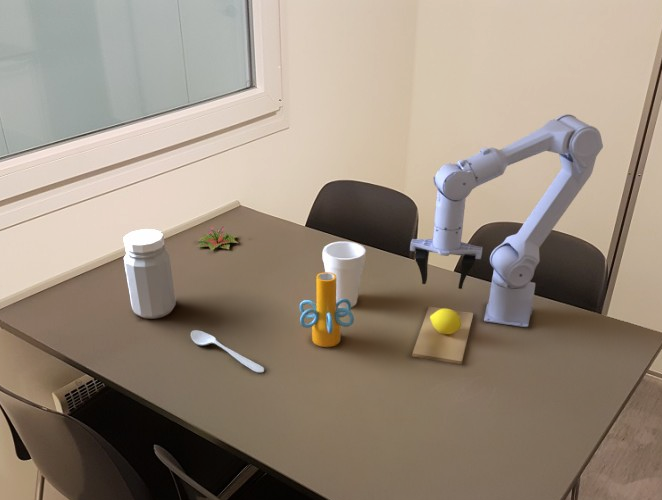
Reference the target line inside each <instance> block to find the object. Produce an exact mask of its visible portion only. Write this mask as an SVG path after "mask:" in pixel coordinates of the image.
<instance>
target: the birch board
mask: <svg viewBox="0 0 662 500" xmlns="http://www.w3.org/2000/svg"><path fill="white" fill-rule="evenodd" d="M440 309H442V307H441V308H440V307H436V306H435V307H434V306H428V308H427V311H426V314H425V316H424V319H423V322H422V325H421V328H420V329H419V333H418V336H417V339H416V342H415V345H414V347H413V350H412V353H411V354H412V355H411V356H412V357H413V358H418V359H426V360H430V361H431V360H432V361H438V362H443V363H450V364H456V365H463V360H464V356H465V352H466V347H467V344H468V339H469V334H470V331H471V327H472V324H473V323H472V322H473V318H474V312H469V311H461V310H455V309H452V310H453V311H455V312H457V314H458V315H459V316H460V320H461V327H460V328H459V329H458V330H457V331H456V332H455V333H452V334H443V333H439V332H438V331H437V330H436V329H435V328H434V326H433V324H432V322H431V319H430V316H431V315H432V314H434V313H435V312H436V311H437V310H440Z"/></svg>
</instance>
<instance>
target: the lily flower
mask: <svg viewBox="0 0 662 500" xmlns="http://www.w3.org/2000/svg"><path fill="white" fill-rule="evenodd" d="M213 229H214V230H213ZM224 230H225V228H224V226H222V227H221V229H220V230H219V229H217V232H216V230H215V227H214V226H213V225H212V227H210V231H208V233H206V235H205V236H203V237H201V238H200V239H197V240H196V241H197V242H198V241H201V242H200V243H199V244H198V245H197V246H196V248H203V247H208V248H209V249H210V251H211V252H212V251H213V250H214V249H217V248H220V249H221V248H222V249H225V250H226V249H227V250H230V247H231V245H230V243H233V244H234V243H235V244H239V242H238V241H237V240H236V238H237V237H238V235H232V234H231V235H229V234H228V235H227V234H226V233H224ZM211 232H212V233H211Z"/></svg>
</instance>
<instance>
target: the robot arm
mask: <svg viewBox="0 0 662 500" xmlns="http://www.w3.org/2000/svg"><path fill="white" fill-rule="evenodd" d="M603 144H604V143H603V140H602V135H601V133H600V130H599V129H598V128H597V127H595V126H592V125H589V124H588V123H587V122H584V121H582V120H580V119H579V118H577V117H576V116H575V115H574V114H571V113H570V114H569V113H568V114H567V113H566V114H563V115H560V116H558V117H557V118H553V119H550V120H548V121H547V122H546V123H544V125H543V126H542V127H540V128H538V129H536V130H534V131H533V132H531V133H529V134H527V135H525V136H523V137H521V138H520V139H518V140H515V141H514V142H512V143H510V144H508V145H507V146H505V147H503V148H500V149H498V148H495V147H489V148H488V147H486V146H484V147H482V148H480V149H479V152H478V153H475V154H474V155H471V156H469V157H467V158H465V159H459V160H457V163H451V162H450V163H446V164H444V165H442V166H441V167H440V168H439V169H438V170H437V171H436V174H435V175H434V176H433V184H434V186H435V187H436V189H437V191H436V192H437V193H436V202H435V212H434V221H433V234H432V238H424V239H423V238H421V239H420V238H419V239H418V238H412V239H411V241H410V246H409V252H414V255H413V256H414V257H413V258H414V261H415V263H416V265H417V266H418V270H419V272H420V277H421V285H426V283H427V280H428V265H429V257H430V253H436V254H438V255H439V256H442V257H443V256H444V257H448V256H450V255H452V256H461V257H462V259H461V268H460V269H461V270H460V277H459V282H458V289H460V290H462V289H463V287H464V282H465V280H466V277H467V276H468V274H469V272H470V271H471V269H472V268H473V266H474V265H475V262H476V260H481V259H482V254H483V246H479V245H474V244H470V243H466V242H462V235H463V227H464V217H465V207H466V199H467V198H468V197H469V196H470V194H471V192H472V191H473V190H474V189H476V188H477V187H479V186H481V185H483V184H486V183H488V182H489V181H492V180H494V179H497V178H499V177H501V176H503V175H504V173H505V172H506V169H507V167H509V166H510V165H514V164H515V163H518V162H521V161H523V160H526V159H529V158H531V157H533V156H536V155H539V154H541V153H544V152H550V153H555V154H558V155H559V160H560V165H561V169H560V171H559V172H558V174H557V175H556V176H555V178H554V180H553V181H552V182H551V184H550V185H549V186H548V188H547V190H546V191H545V193H543V195H542V197H541V198H540V199H539V201H538V203H537V204H536V206H535V207H534V208H533V210H532V211H531V213H530V214H529V215H528V217H527V219H526V220H525V221H524V223H523V224H522V226H521V227H520V229H519V230H518V231H517V233H515V234H512V235H508V236H506V238H505V239H504V241H502V242H501V244H499V245H498V246H496V247H495V248H494V249H493V250H492V251H491V254H490V255H489V263H490V266H491V267H492V268H493V274H492V277H491V285H490V291H489V297H488V298H489V299H488V303H487V304H486V306H485V307H486V308H485V313H484V317H483V321H484V322H487V323H493V324H501V325H507V326H514V327H520V328H529V325H530V319H531V316H532V315H533V310H534V307H533V302H534V296H535V290H536V282H532V280H533V278H534V275H535V270H536V269H537V266H538V264H539V263H540V262H541V261H540V259H541V258H540V248H541V246H542V245H543V243H544V242H545V241H546V239H547V237H548V236H549V235H550V233H551V232H552V231H553V230H554V228H555V227H556V225H557V223H558V222H559V221H560V220H561V218H562V217H563V216H564V214H565V212H566V211H567V210H568V208H569V207H570V206H571V204H572V203H573V201H574V200H575V199H576V197H577V196H578V195H579V193H580V192H581V190H582V189H583V187H584V186H585V184H586V183H587V181H588V180H589V178H591V176H592V174H593V172H594V167H595V164H596V160H597V156H598V155H599V154H600V152H601V151H602V149H603V148H604V145H603Z"/></svg>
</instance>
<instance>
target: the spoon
mask: <svg viewBox="0 0 662 500" xmlns="http://www.w3.org/2000/svg"><path fill="white" fill-rule="evenodd" d="M190 338H191V340H192V341H193V343H194V344H196V345H199V346H207V345H210V344H213V345H216V346H218V347H219V348H221V349H222V350H224V351H225V352H227V354H229V355H230V356H231V357H232V358H234V359H235V360H236V361H237V362H238V363H240V364H242V365H243V366H245V367H246V368H248V369H249V370H251V371H252V372H254V373H257V374H262V373H264V372H265V368H264V367H263V366H262V365H260V364H258V363H256V362H254V361H253V360H250V359H249V358H247V357H245V356H243V355H241V354H240V353H238V352H236V351H234V350H232V349H230V348H229V347H227V346H226V345H223V344H221V343H220V342H219V341H218V340H217V339H216V337H215V336H214V335H212V334H209V333H207V332H205V331H202V330H198V329H196V330H192V331H191V332H190Z"/></svg>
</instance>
